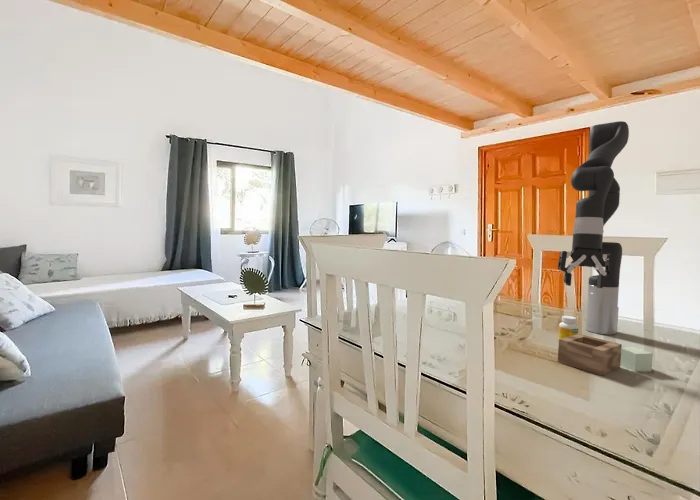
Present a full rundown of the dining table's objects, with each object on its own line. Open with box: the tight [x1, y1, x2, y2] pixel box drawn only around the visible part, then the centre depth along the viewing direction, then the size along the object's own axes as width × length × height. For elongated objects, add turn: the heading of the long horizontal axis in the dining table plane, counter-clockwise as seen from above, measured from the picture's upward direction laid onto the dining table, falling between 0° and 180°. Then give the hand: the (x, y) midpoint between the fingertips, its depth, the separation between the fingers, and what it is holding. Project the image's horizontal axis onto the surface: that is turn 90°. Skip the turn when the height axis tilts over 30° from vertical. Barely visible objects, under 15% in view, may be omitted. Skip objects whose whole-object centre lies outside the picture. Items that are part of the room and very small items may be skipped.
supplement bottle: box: [557, 315, 580, 345], centre depth 116 cm, size 5×5×10 cm
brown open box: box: [557, 333, 623, 376], centre depth 101 cm, size 11×11×6 cm
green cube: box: [620, 346, 654, 373], centre depth 99 cm, size 5×5×5 cm
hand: (583, 286), depth 109 cm, fingers open, 8 cm apart
